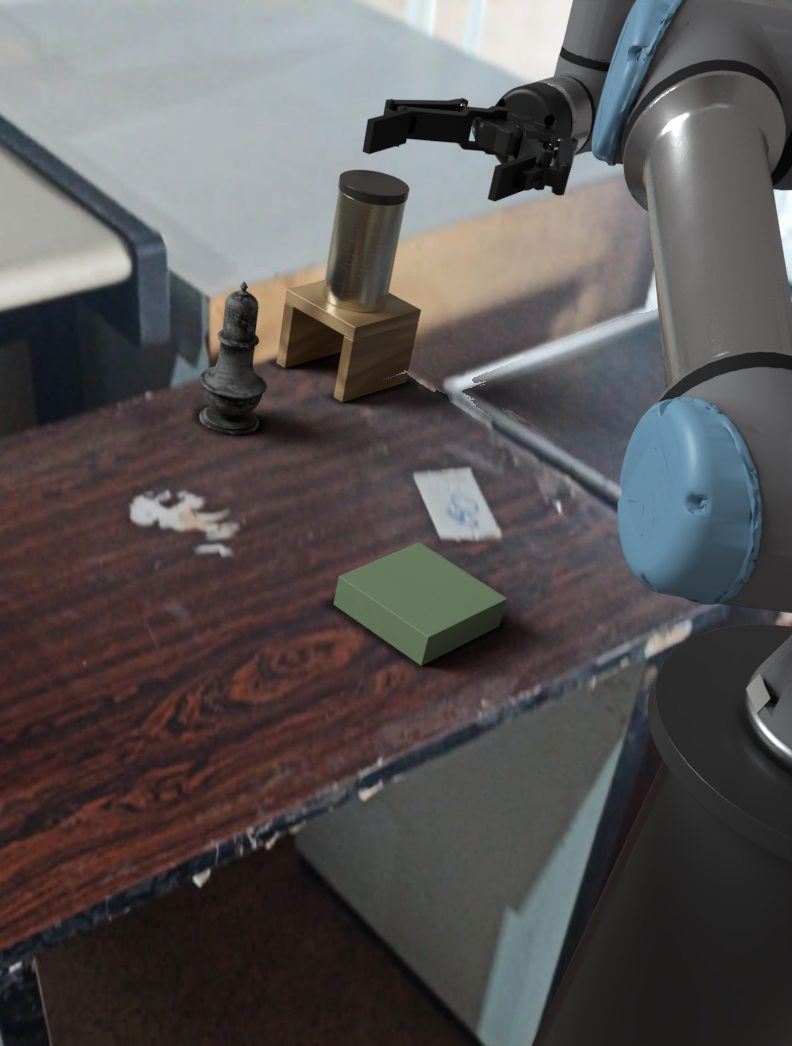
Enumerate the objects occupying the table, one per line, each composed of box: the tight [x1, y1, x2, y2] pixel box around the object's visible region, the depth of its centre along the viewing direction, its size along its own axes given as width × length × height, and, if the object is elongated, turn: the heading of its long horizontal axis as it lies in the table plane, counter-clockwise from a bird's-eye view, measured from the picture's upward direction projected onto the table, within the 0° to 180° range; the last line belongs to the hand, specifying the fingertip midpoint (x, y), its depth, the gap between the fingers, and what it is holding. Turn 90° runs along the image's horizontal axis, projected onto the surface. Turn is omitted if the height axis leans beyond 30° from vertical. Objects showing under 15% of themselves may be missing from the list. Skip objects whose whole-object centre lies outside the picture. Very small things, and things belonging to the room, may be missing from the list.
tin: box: [323, 169, 410, 313], centre depth 115 cm, size 6×6×10 cm
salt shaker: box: [199, 281, 268, 436], centre depth 109 cm, size 6×6×12 cm
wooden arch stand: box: [276, 279, 422, 403], centre depth 121 cm, size 9×9×7 cm
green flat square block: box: [333, 541, 508, 667], centre depth 95 cm, size 9×9×2 cm
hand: (430, 160), depth 115 cm, fingers open, 13 cm apart
